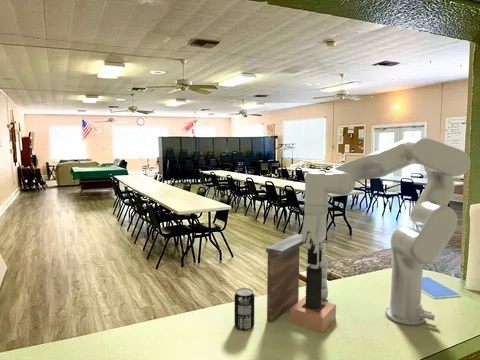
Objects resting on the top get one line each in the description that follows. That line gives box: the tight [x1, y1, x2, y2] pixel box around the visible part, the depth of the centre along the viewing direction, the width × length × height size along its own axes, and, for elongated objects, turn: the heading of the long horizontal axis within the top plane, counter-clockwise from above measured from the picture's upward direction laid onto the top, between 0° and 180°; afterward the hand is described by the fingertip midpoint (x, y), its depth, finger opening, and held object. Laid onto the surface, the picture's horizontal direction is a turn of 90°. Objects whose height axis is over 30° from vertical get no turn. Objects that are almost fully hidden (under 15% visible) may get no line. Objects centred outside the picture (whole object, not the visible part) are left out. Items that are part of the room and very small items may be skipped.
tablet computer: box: [421, 276, 461, 300], centre depth 148 cm, size 19×13×1 cm, turn 10°
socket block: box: [290, 295, 337, 334], centre depth 121 cm, size 12×12×5 cm
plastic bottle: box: [319, 247, 330, 301], centre depth 137 cm, size 6×7×20 cm
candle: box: [305, 242, 322, 309], centre depth 119 cm, size 5×5×25 cm
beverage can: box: [234, 287, 255, 331], centre depth 117 cm, size 7×7×12 cm
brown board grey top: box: [265, 233, 306, 324], centre depth 125 cm, size 6×22×26 cm, turn 145°
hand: (314, 262), depth 119 cm, fingers closed on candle, 3 cm apart
